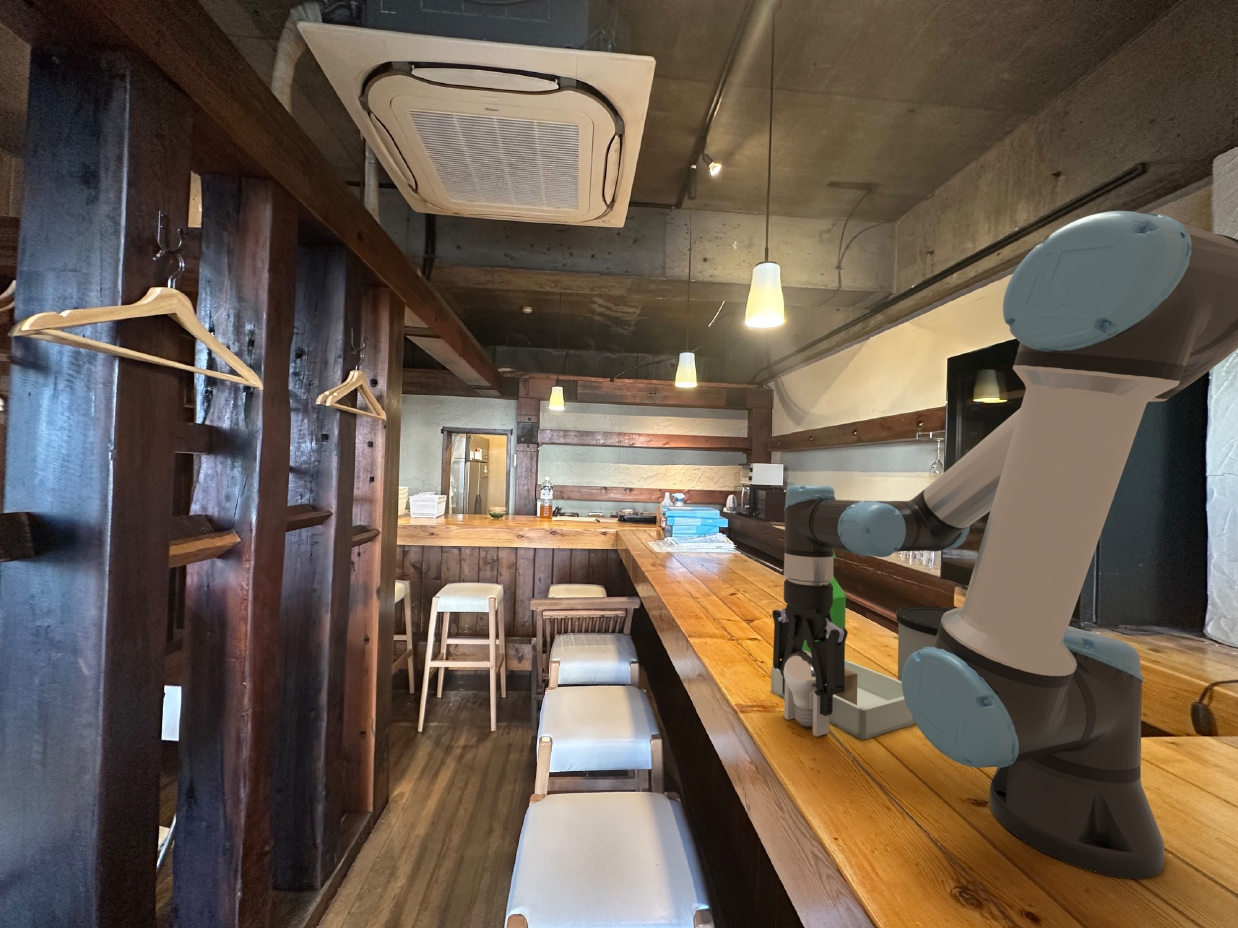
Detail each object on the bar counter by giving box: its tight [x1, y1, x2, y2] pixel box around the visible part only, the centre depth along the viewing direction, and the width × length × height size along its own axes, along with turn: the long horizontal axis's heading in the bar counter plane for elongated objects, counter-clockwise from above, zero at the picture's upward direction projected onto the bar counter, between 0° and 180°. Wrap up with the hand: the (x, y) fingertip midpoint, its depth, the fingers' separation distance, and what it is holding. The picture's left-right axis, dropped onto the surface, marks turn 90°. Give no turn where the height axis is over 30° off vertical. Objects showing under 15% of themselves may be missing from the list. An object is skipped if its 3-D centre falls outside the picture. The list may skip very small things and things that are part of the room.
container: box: [895, 605, 954, 681], centre depth 95 cm, size 19×19×15 cm
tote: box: [770, 659, 916, 741], centre depth 92 cm, size 20×17×4 cm
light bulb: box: [783, 650, 826, 729], centre depth 84 cm, size 7×7×12 cm
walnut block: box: [835, 669, 858, 705], centre depth 91 cm, size 6×6×6 cm
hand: (805, 724), depth 84 cm, fingers closed on light bulb, 5 cm apart
